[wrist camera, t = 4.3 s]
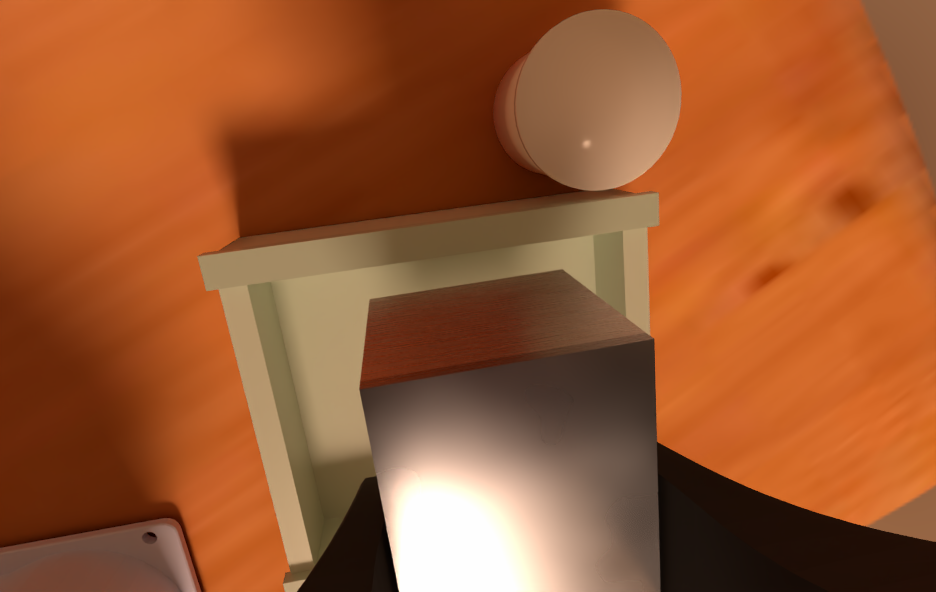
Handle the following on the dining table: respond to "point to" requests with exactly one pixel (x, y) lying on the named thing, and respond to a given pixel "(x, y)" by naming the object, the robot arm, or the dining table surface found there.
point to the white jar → (590, 101)
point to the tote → (346, 310)
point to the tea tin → (513, 438)
